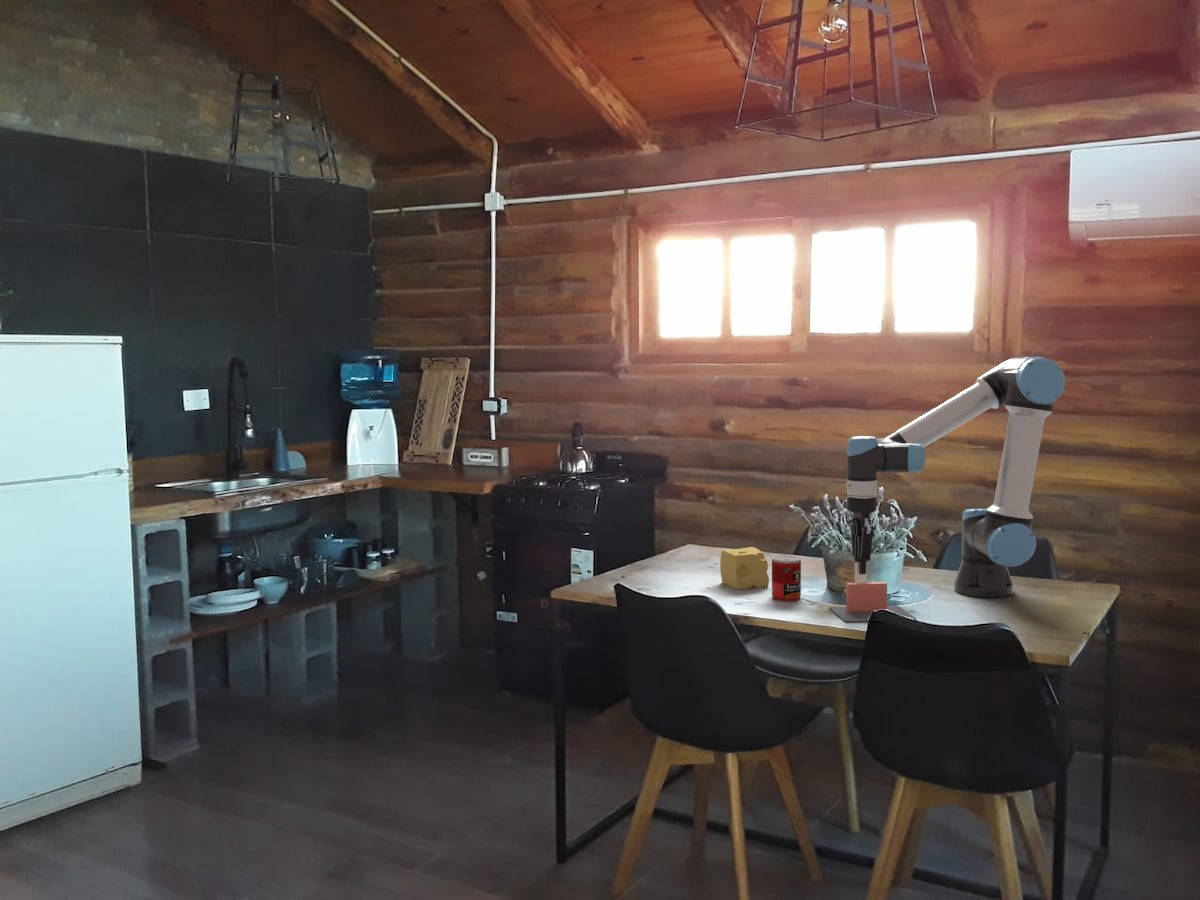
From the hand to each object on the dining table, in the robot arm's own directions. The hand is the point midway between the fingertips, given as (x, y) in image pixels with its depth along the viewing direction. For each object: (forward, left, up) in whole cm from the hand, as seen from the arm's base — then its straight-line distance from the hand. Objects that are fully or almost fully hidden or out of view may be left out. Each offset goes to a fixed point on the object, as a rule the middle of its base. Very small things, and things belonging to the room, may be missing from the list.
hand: (860, 585), depth 274 cm
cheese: (+25, -28, -6) cm, 38 cm away
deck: (0, +6, -5) cm, 8 cm away
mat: (0, +9, -5) cm, 10 cm away
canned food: (+17, -11, -6) cm, 21 cm away
